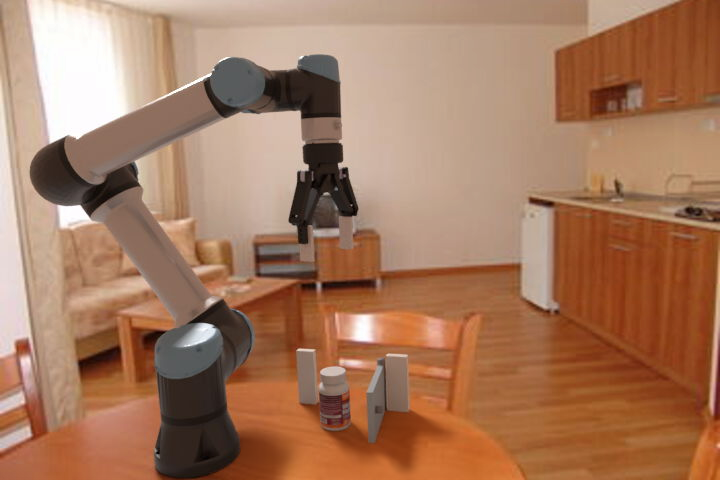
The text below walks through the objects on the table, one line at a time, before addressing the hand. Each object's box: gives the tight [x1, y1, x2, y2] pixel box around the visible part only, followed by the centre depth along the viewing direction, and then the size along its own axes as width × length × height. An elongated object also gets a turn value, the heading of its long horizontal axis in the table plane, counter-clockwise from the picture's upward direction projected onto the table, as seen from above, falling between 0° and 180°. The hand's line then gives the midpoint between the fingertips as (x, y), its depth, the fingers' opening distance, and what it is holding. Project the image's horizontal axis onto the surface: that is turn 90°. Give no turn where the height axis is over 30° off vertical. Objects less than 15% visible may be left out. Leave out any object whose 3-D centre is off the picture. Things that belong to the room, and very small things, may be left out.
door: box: [365, 357, 388, 444], centre depth 112 cm, size 15×3×11 cm, turn 169°
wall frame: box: [295, 348, 411, 413], centre depth 121 cm, size 24×2×12 cm, turn 75°
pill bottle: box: [318, 365, 352, 432], centre depth 113 cm, size 6×6×11 cm
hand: (328, 254), depth 108 cm, fingers open, 13 cm apart
